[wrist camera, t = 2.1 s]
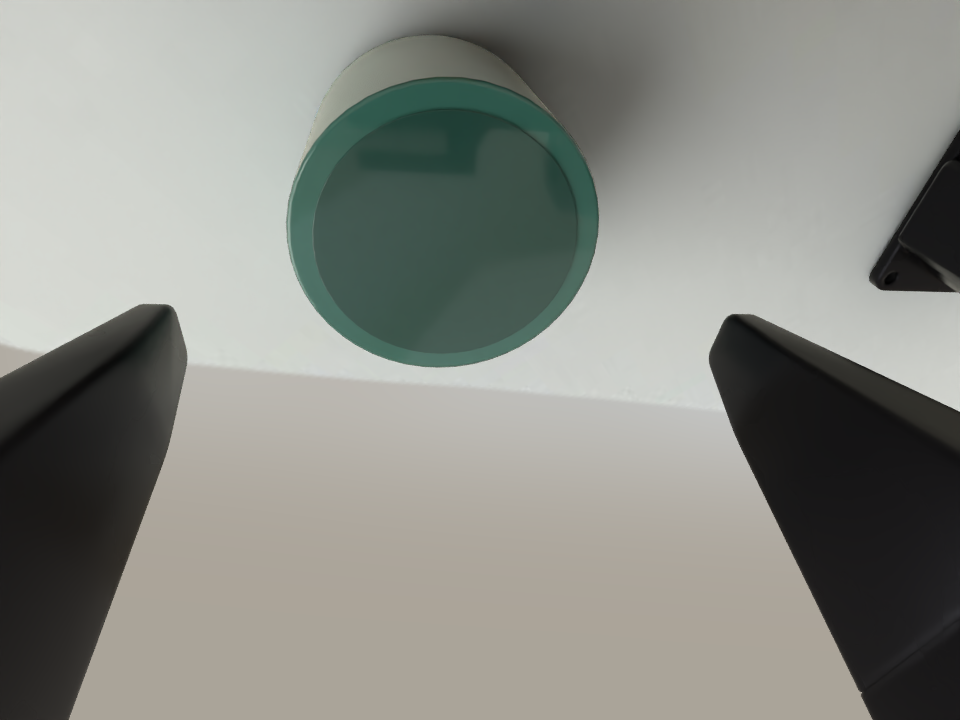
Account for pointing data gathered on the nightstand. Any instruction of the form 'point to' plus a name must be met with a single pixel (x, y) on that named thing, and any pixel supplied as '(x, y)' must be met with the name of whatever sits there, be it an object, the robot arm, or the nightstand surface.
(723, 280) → the nightstand surface
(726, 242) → the nightstand surface
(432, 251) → the green glass jar
